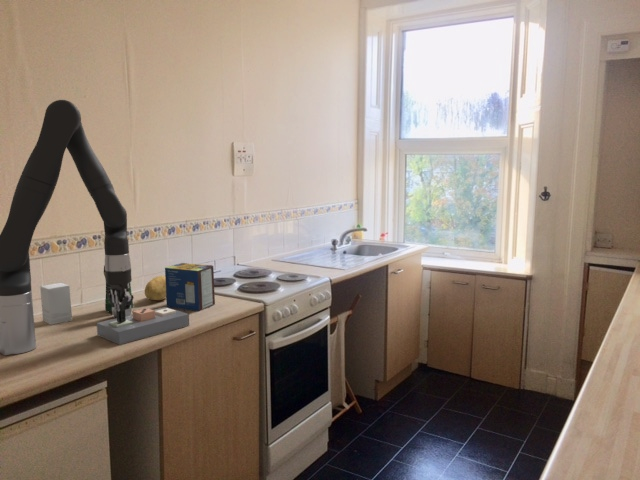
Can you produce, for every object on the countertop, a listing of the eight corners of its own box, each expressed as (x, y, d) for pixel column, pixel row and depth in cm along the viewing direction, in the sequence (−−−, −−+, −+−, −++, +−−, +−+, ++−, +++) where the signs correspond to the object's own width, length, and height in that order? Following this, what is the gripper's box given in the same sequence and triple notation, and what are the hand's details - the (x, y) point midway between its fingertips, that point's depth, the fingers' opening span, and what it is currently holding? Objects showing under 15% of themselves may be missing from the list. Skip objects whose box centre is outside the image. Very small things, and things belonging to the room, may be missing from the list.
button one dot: (163, 326, 175) (163, 313, 174) (155, 323, 178) (154, 310, 177) (176, 323, 178) (175, 310, 178) (168, 320, 182) (167, 307, 181)
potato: (180, 297, 215) (179, 274, 214) (152, 305, 203) (151, 281, 202) (162, 294, 220) (161, 272, 219) (135, 302, 208) (133, 278, 207)
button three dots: (141, 327, 168) (140, 313, 168) (133, 324, 172) (132, 310, 171) (155, 324, 172) (154, 310, 171) (147, 321, 175) (146, 307, 175)
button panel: (119, 344, 158) (119, 331, 158) (97, 335, 167) (96, 322, 167) (189, 325, 177) (188, 314, 176) (165, 317, 186) (165, 306, 185)
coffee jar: (117, 314, 190) (114, 264, 188) (101, 312, 194) (98, 262, 191) (137, 308, 199) (134, 260, 196) (121, 305, 202) (119, 258, 200)
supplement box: (72, 320, 183) (70, 285, 182) (50, 325, 178) (47, 289, 176) (64, 316, 188) (61, 282, 186) (42, 321, 183) (39, 285, 181)
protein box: (182, 300, 210) (181, 262, 208) (215, 304, 204) (214, 265, 202) (165, 307, 200) (163, 267, 198) (199, 311, 194) (197, 270, 192)
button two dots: (118, 339, 163) (117, 325, 162) (110, 336, 166) (109, 321, 165) (133, 335, 166) (132, 321, 166) (125, 332, 170) (124, 318, 169)
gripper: (96, 267, 165) (99, 320, 167) (117, 272, 156) (121, 328, 159) (118, 263, 170) (121, 315, 173) (140, 268, 162) (143, 323, 164)
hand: (121, 321), depth 166 cm, fingers closed
